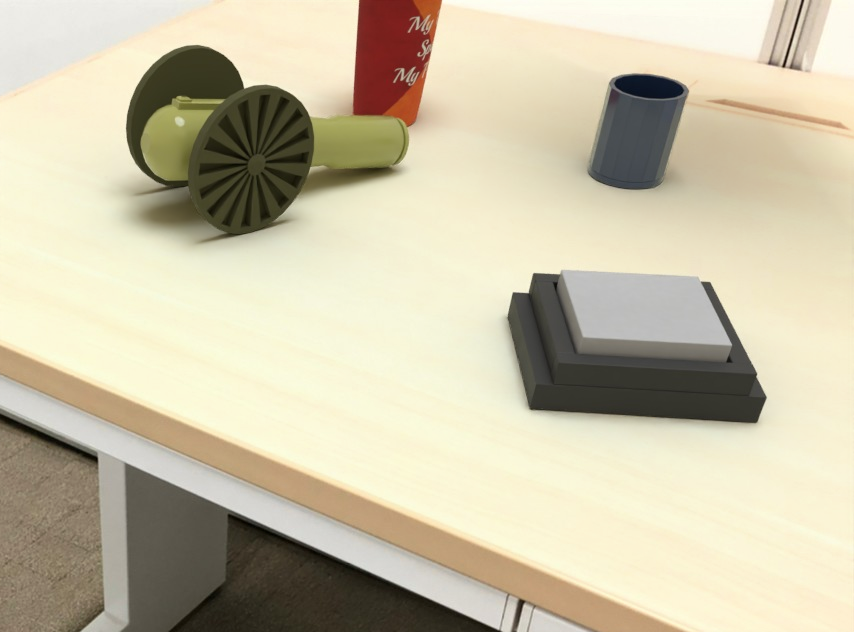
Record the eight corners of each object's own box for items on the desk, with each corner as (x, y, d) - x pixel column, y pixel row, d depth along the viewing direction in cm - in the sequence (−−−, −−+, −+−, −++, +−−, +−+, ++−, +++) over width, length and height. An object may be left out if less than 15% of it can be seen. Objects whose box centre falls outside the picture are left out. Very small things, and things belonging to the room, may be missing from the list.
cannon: (354, 140, 113) (369, 9, 106) (437, 188, 105) (460, 50, 98) (109, 195, 104) (108, 57, 97) (180, 253, 96) (184, 107, 89)
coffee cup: (420, 138, 113) (448, -38, 103) (331, 126, 115) (350, -47, 106) (435, 106, 119) (463, -64, 109) (350, 95, 121) (370, -72, 112)
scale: (710, 326, 87) (726, 281, 85) (757, 422, 78) (776, 375, 76) (507, 315, 89) (517, 271, 86) (529, 409, 80) (541, 361, 77)
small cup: (654, 161, 109) (679, 74, 104) (670, 190, 104) (696, 101, 100) (582, 157, 110) (603, 72, 105) (594, 187, 105) (617, 98, 100)
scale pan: (690, 299, 85) (698, 276, 83) (724, 369, 78) (732, 345, 77) (555, 292, 85) (561, 269, 84) (576, 360, 79) (583, 336, 77)
